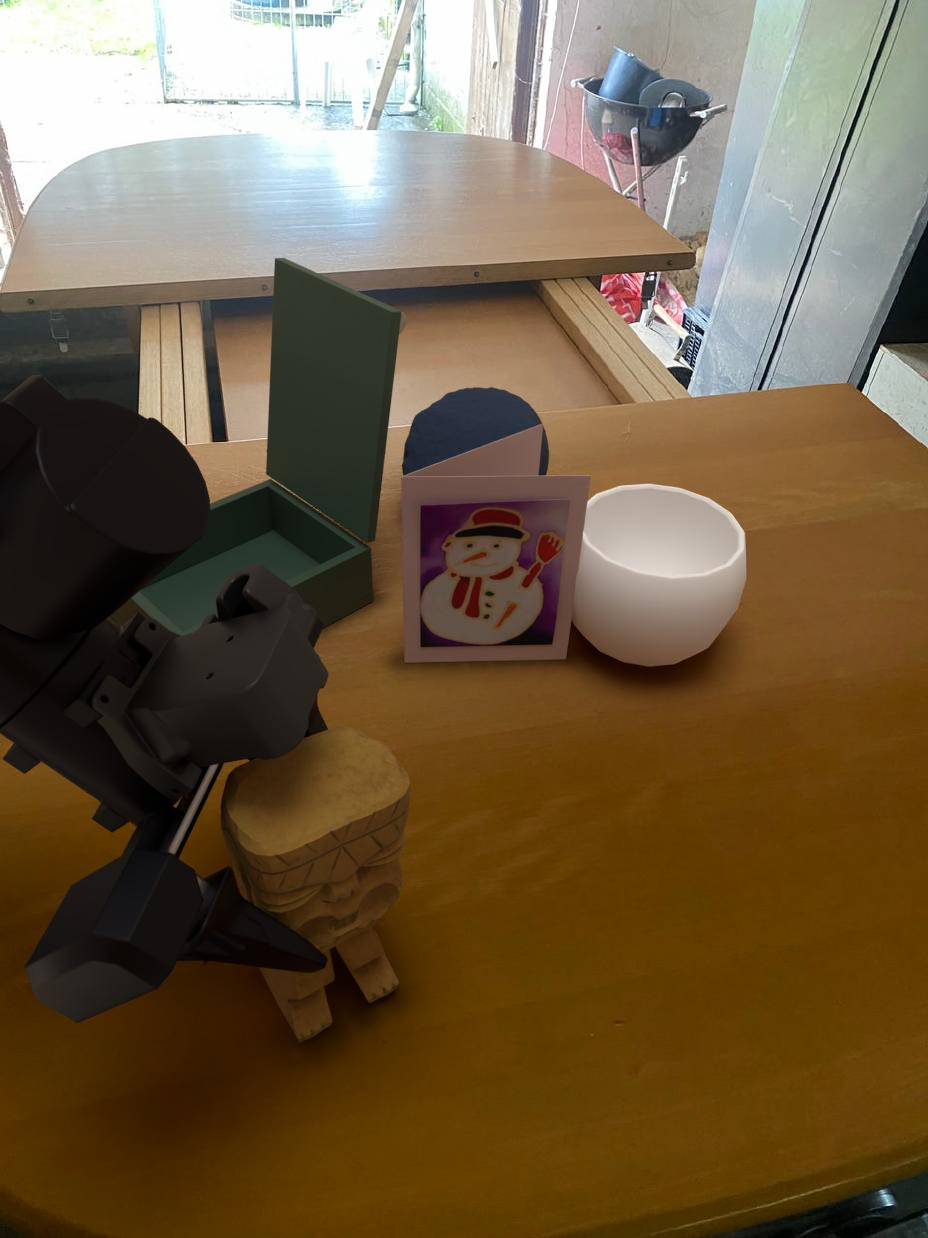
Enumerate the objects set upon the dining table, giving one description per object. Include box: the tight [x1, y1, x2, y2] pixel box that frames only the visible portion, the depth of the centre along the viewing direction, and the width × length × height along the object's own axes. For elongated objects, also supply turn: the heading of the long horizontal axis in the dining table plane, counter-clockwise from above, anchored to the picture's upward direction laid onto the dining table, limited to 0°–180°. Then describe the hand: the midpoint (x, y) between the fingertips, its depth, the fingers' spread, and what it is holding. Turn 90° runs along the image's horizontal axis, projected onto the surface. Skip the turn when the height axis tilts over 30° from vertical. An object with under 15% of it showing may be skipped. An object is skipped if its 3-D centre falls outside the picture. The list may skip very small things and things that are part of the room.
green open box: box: [109, 478, 374, 636], centre depth 67 cm, size 16×13×5 cm
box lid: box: [265, 257, 407, 544], centre depth 66 cm, size 16×13×4 cm
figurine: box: [219, 725, 411, 1043], centre depth 41 cm, size 7×7×15 cm
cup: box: [571, 483, 747, 668], centre depth 64 cm, size 12×12×10 cm
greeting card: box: [400, 423, 592, 664], centre depth 62 cm, size 11×7×15 cm, turn 94°
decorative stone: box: [401, 386, 550, 476], centre depth 76 cm, size 12×12×10 cm
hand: (345, 885), depth 41 cm, fingers closed on figurine, 7 cm apart
